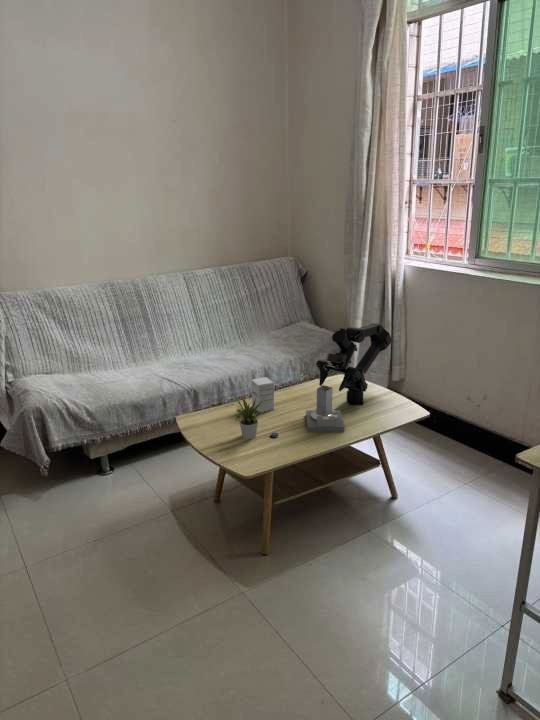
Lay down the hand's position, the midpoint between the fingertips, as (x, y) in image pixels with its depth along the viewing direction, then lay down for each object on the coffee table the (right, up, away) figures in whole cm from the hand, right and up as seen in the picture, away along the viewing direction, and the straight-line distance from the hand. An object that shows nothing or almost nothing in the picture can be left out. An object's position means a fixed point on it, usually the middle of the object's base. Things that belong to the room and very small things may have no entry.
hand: (329, 388), depth 224 cm
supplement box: (-27, -10, +14) cm, 32 cm away
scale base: (-2, -14, 0) cm, 14 cm away
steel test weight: (-2, -10, +1) cm, 10 cm away
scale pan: (-2, -11, +1) cm, 12 cm away
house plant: (-33, -18, -10) cm, 39 cm away
